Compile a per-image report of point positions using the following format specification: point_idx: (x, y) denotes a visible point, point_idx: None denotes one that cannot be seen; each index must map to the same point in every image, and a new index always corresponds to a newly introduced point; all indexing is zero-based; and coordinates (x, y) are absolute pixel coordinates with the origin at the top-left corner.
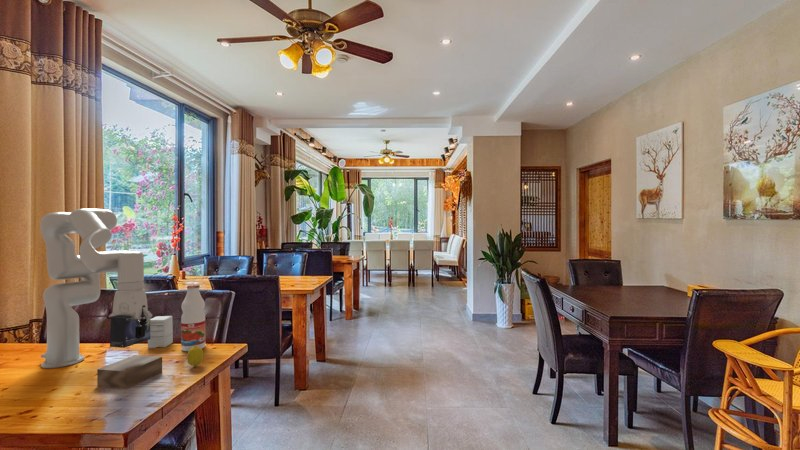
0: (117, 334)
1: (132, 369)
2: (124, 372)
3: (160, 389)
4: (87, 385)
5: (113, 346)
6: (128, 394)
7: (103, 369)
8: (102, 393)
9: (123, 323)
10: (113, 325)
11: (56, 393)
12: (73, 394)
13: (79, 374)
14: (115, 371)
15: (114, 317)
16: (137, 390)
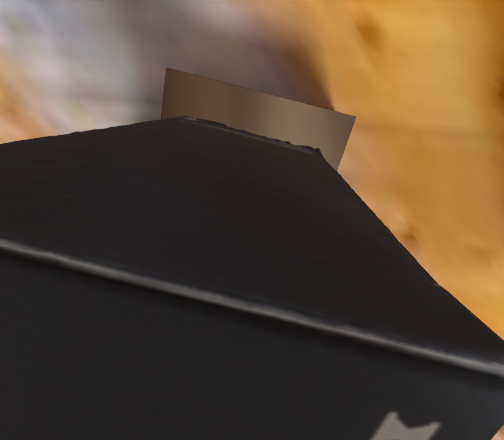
0: (230, 144)
1: (163, 101)
2: (185, 72)
3: (46, 59)
4: (383, 125)
5: (284, 141)
6: (140, 10)
7: (320, 110)
8: (262, 29)
9: (20, 147)
10: (306, 197)
11: (470, 43)
12: (386, 26)
13: (481, 240)
14: (242, 87)
15: (303, 302)
16: (134, 54)
